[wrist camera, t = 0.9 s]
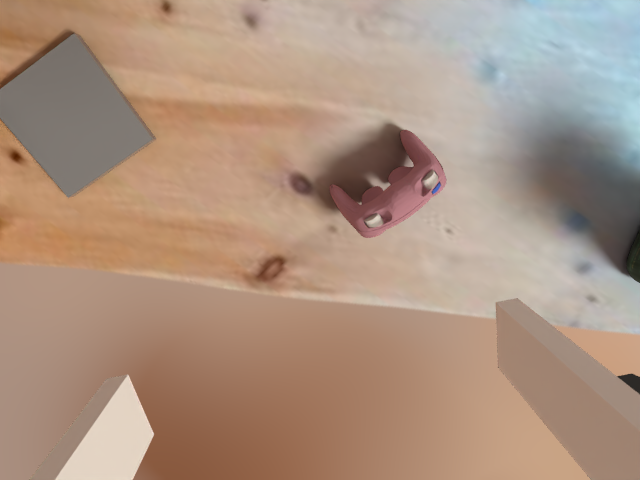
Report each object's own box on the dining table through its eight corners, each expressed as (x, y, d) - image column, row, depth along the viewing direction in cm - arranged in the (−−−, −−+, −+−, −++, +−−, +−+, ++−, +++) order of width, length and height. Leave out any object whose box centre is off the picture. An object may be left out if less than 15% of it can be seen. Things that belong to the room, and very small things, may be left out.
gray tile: (-8, 101, 31) (-15, 100, 30) (79, 35, 30) (74, 33, 29) (73, 196, 34) (68, 197, 33) (156, 139, 33) (152, 139, 32)
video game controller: (344, 214, 37) (372, 255, 32) (321, 186, 34) (348, 227, 29) (421, 156, 36) (464, 189, 31) (405, 121, 33) (449, 152, 28)
